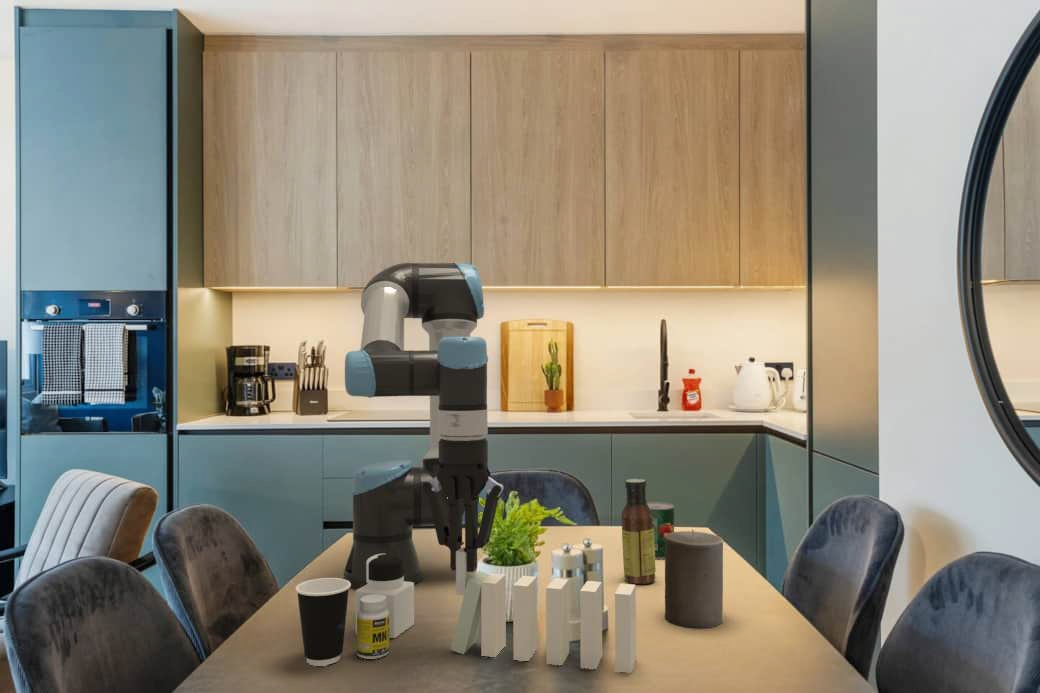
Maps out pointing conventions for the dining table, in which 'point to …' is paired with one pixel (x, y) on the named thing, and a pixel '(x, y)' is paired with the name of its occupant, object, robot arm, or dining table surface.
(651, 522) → the sauce bottle
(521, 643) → the domino
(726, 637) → the dining table surface
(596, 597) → the domino
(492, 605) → the domino
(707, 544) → the pillar candle
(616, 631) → the domino
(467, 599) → the grey-green tall block
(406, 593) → the white bottle
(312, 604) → the dixie cup
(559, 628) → the domino
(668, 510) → the canned tomato
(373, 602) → the supplement bottle
